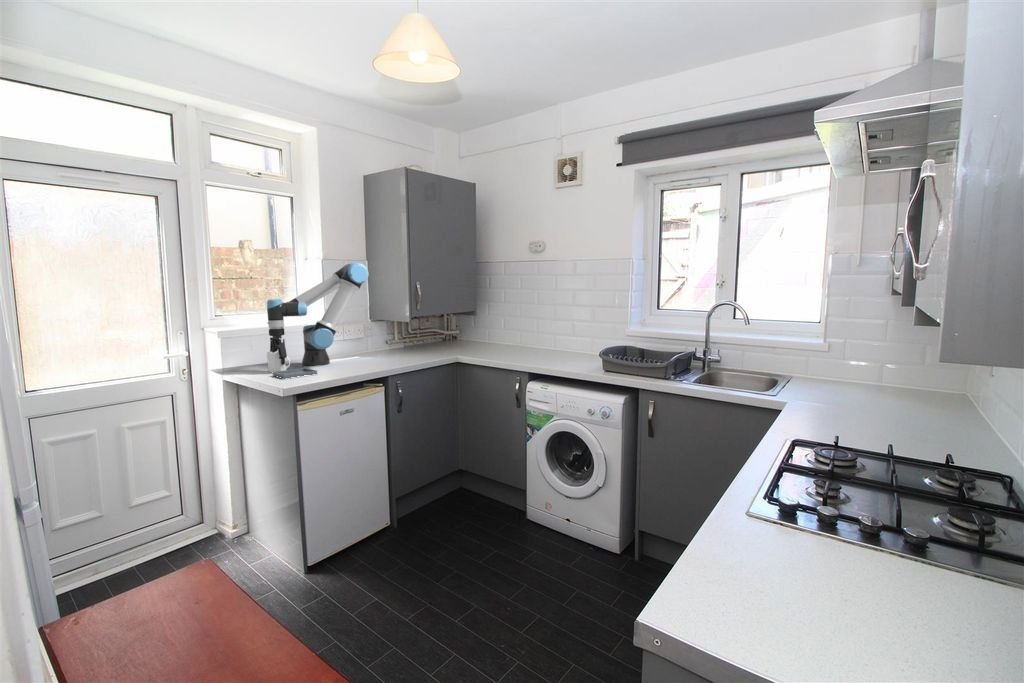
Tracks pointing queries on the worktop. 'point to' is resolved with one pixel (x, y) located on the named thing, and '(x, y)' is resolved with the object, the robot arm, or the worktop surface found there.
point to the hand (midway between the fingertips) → (279, 369)
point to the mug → (274, 361)
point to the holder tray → (294, 372)
